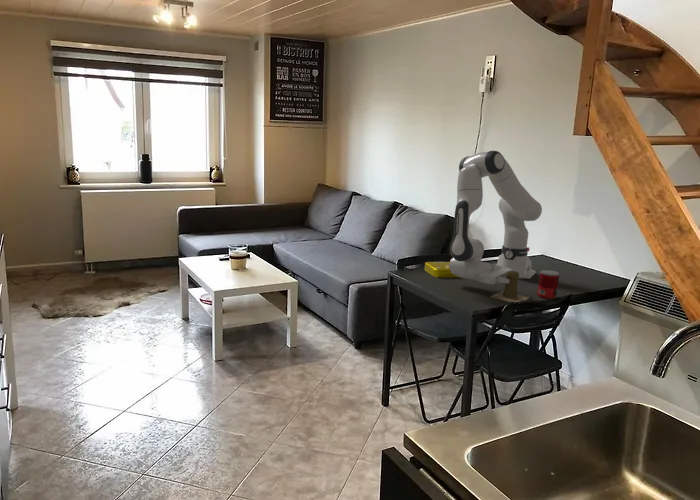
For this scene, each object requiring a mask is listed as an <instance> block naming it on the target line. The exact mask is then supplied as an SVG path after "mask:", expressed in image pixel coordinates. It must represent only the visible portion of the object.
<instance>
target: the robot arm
mask: <svg viewBox="0 0 700 500" xmlns="http://www.w3.org/2000/svg"><path fill="white" fill-rule="evenodd" d="M485 177H488V179H489V180H490V183H491V185H492V186H493V188H494V189H495V191H496V193H497V194H498V196H499V197H500V200H499V202H498V209H499V211H500V213H501V214H502V219H503V224H504V225H503V226H504V236H503V243H502V244H503V245H502V246H501V254H500V255H498V257H497V263H495V262H485V261H482V259H483V256H484V252H485V247H484V244H483V242H482V241H481V240H479V239H477V238H469V227H470V217H471V215H472V214H473V213H474V212H475V211H477V210H478V209H479V208H480V207H481V206H482V204H483V203H482V202H483V198H484V197H483V195H484V194H483V193H484V191H483V190H484V189H483V181H482V178H485ZM456 193H457V195H456V196H457V197H456V199H457V200H456V205H455V211H454V217H453V218H454V220H453V232H452V233H453V234H452V236H453V237H452V239H451V242H450V246H449V253H450V255H451V257H452V258H451V259H450V261H449V262H450V271H451V272H452V273H453V274H454V275H456V276H458V277H457V278H461V279H466V280H472V281H475V282H479V283H483V284H487V285H492V286H493V285H497V284H506V283H507V284H508V283H510V279H508V278H507V277H506V274H507V272H508V271H516V272H518V273H519V278H518V279H517V281H518V280H519V279H529V280H530V279H531V278H532V277H534V276H535V274H536V270H533V269H532V263H533V262H532V260H531V259H530V258H529V256H528V255H529V253H528V252H530V250H531V249H530V247H528V246H527V245H528V241H529V230H528V228H527V227H526V223H525V222H533V221H535V222H536V221H537V220H538V219H540V217H541V215H542V212H543V207H542V205H541V203H540V202H539V201H538V200H536V199H535V198H534V197H533V196H532V195H531V194H530V193H529V191H528V190H526V188H525V187H524V186H523V184H521V182H520V180H519V179H518V178H517V175H516V174H515V172H514V170H513V168H512V166H511V165H510V164H509V162H508V160H506V159H505V157H504V155H503V154H502V153H501V152H500V151H497V150H489V151H482V152H477V153H476V154H472V155H468V156H465V157H464V158H462V159H461V160H460V162H459V165H458V176H457V187H456Z"/></svg>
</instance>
